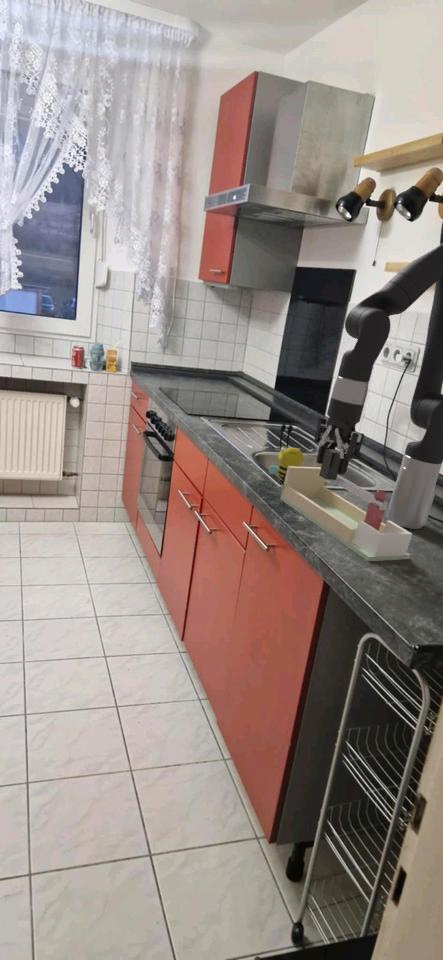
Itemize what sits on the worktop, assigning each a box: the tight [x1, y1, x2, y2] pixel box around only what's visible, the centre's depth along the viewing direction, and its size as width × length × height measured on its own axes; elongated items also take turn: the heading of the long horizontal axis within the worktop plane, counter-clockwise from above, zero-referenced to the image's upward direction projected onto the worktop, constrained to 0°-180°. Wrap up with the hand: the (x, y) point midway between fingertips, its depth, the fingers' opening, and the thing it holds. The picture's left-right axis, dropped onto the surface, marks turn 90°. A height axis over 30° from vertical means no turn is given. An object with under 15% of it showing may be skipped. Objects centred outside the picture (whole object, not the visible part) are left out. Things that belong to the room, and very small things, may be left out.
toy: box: [268, 423, 304, 483], centre depth 171 cm, size 6×14×15 cm
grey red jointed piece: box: [319, 448, 389, 531], centre depth 139 cm, size 6×18×15 cm, turn 27°
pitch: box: [279, 466, 413, 562], centre depth 143 cm, size 12×34×9 cm, turn 28°
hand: (330, 468), depth 143 cm, fingers open, 7 cm apart
